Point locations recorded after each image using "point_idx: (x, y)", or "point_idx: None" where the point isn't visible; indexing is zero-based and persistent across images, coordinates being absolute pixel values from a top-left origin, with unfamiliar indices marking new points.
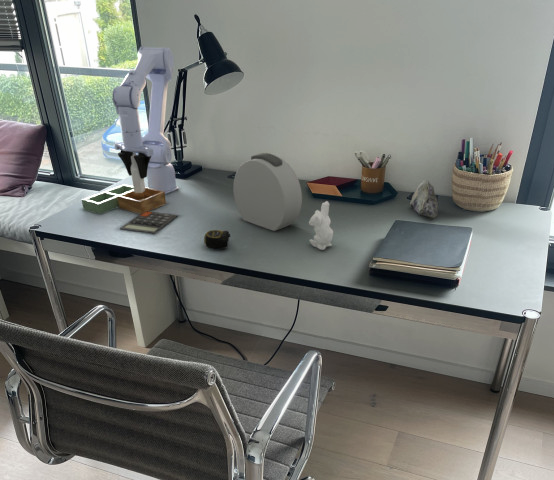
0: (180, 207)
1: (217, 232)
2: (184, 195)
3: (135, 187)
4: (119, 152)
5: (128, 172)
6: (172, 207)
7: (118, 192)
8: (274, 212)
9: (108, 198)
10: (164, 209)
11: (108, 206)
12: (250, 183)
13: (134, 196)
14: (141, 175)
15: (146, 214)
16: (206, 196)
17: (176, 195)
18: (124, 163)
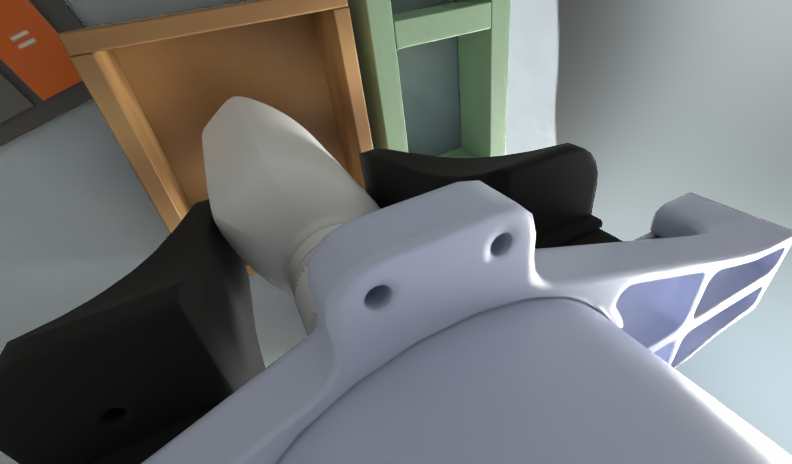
0: (81, 293)
1: None
2: (265, 353)
3: (228, 111)
4: (594, 193)
5: (378, 152)
6: (112, 257)
7: (474, 111)
8: None
9: (449, 6)
10: (102, 205)
11: None
12: None
13: (346, 136)
14: (188, 214)
15: (5, 35)
16: None
17: (290, 326)
18: (444, 162)
